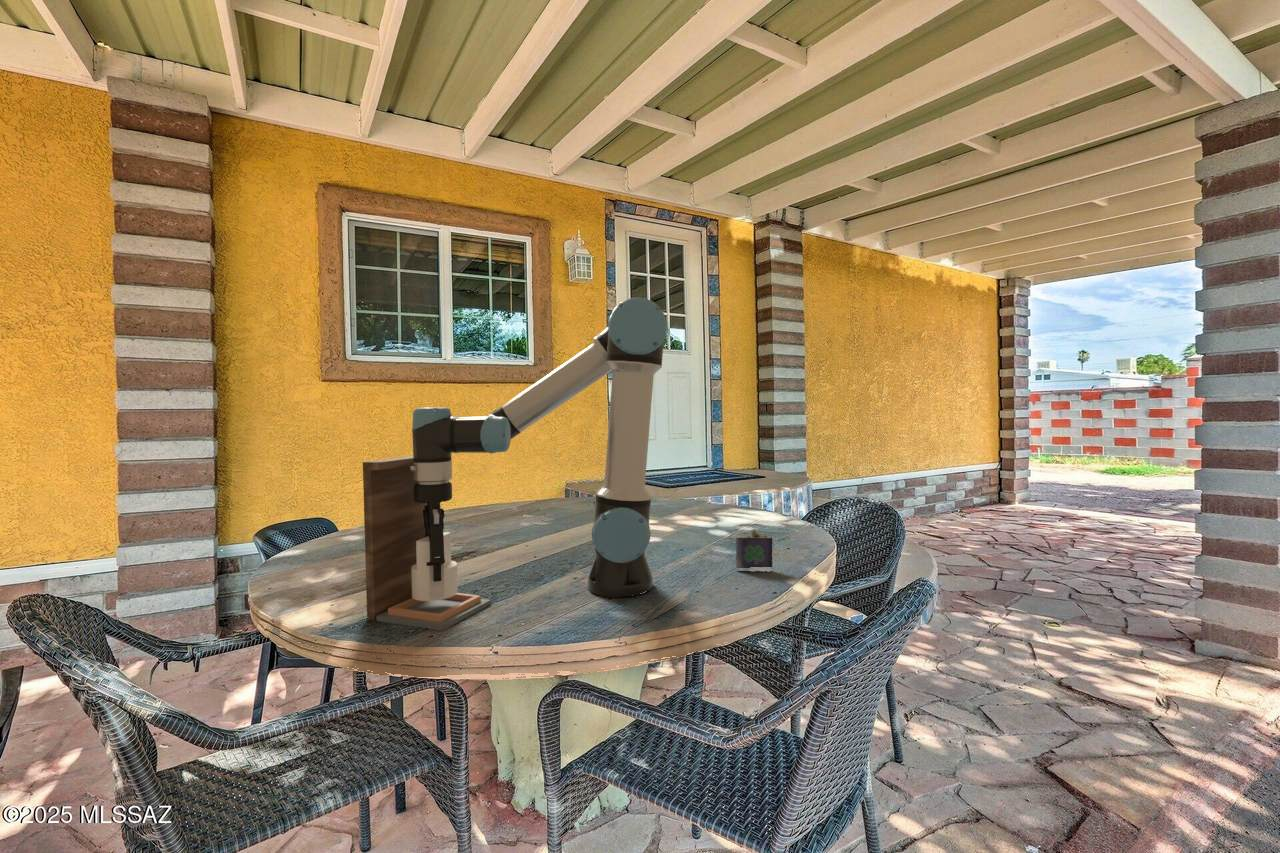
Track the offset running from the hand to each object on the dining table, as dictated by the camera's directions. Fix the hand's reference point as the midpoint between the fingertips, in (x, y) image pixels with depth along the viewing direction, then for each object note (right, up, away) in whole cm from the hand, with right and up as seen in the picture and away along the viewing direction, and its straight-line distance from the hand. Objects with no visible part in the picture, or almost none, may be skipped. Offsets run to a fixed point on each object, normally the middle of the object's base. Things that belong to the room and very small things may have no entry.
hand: (434, 589), depth 123 cm
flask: (+72, -3, +28) cm, 77 cm away
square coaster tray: (0, -5, 0) cm, 5 cm away
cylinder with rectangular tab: (0, -1, 0) cm, 1 cm away
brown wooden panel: (-9, -5, +4) cm, 11 cm away
